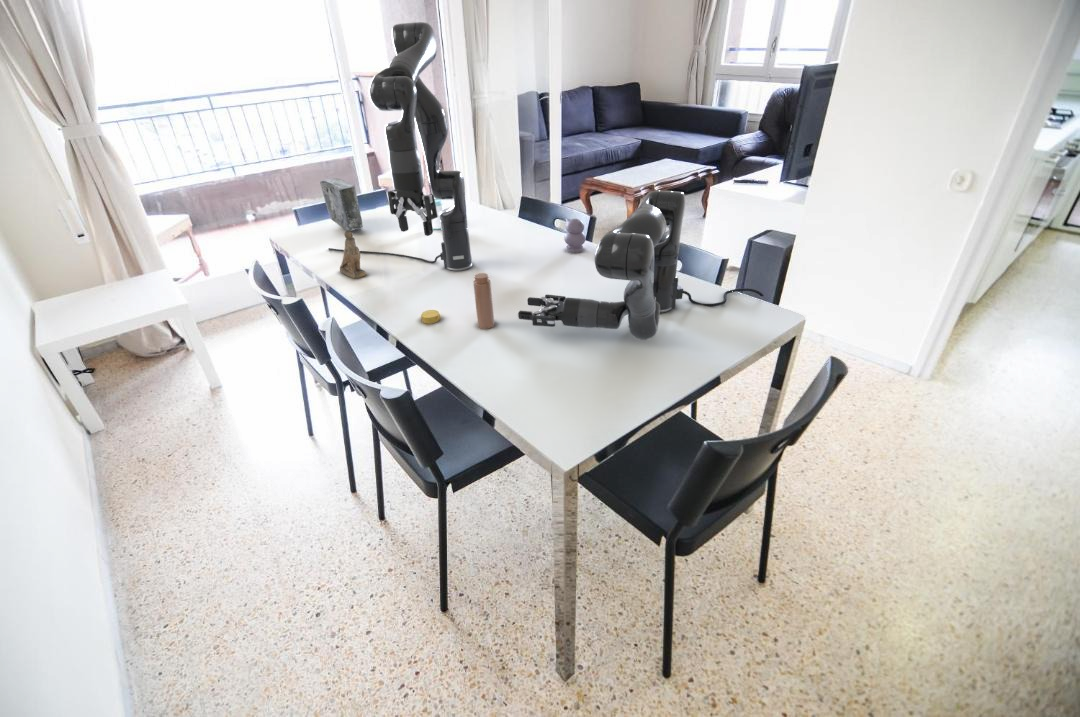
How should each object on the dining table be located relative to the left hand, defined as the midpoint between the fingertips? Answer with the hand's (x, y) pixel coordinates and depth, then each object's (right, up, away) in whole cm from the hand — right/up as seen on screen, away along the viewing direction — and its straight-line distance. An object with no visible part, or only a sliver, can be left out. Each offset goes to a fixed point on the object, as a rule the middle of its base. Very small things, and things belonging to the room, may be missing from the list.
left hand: (416, 232), depth 132 cm
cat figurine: (+46, +8, +60) cm, 76 cm away
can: (-13, +25, +92) cm, 96 cm away
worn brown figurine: (-35, -3, +47) cm, 58 cm away
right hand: (+28, -20, +3) cm, 34 cm away
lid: (+1, -21, +13) cm, 24 cm away
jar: (+17, -24, +9) cm, 31 cm away
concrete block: (-55, +26, +96) cm, 113 cm away
